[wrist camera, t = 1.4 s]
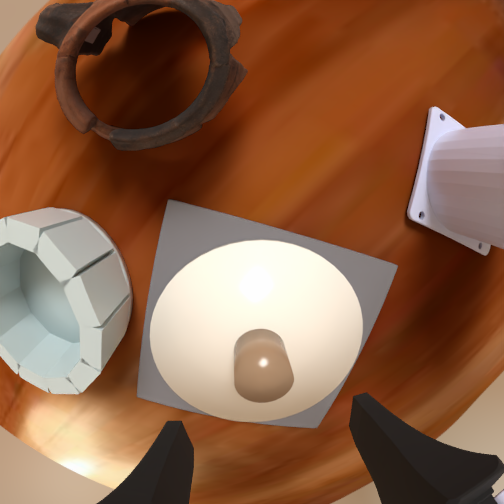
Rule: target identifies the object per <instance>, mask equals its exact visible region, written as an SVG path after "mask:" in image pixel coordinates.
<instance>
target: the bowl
mask: <svg viewBox="0 0 504 504" xmlns="http://www.w3.org/2000/svg"><path fill="white" fill-rule="evenodd" d="M132 307H133V291H132V284H131V278H130V275H129V272H128V268H127V266H126V263H125V261H124V258H123V256H122V254H121V252H120V250H119V249H118V247H117V245H116V244H115V242H114V241H113V239H112V238H111V237H110V236H109V235H108V233H107V232H106V231H105V230H104V229H103V228H102V227H101V226H100V225H99V224H98V223H97V222H95V221H94V220H92V219H91V218H90V217H88V216H86V215H84V214H82V213H80V212H78V211H75V210H71V209H66V208H53V207H51V208H44V209H39V210H35V211H30V212H25V213H21V214H17V215H12V216H8V217H4V218H2V219H1V220H0V356H1V357H2V359H3V360H4V361H5V362H6V363H7V364H8V365H9V366H10V368H11V369H12V370H13V371H14V372H15V373H16V374H18V373H19V375H20V377H21V378H23V379H24V380H26V381H28V382H30V383H31V384H33V385H35V386H37V387H39V388H41V389H42V390H44V391H46V392H48V393H49V392H50V391H51V393H52V394H80V392H83V391H84V390H85V389H86V388H87V387H88V386H89V385H90V384H91V383H92V382H93V381H94V380H95V379H96V378H97V376H98V375H99V374H100V373H101V371H102V370H103V368H104V367H105V365H106V363H107V362H108V360H109V359H110V357H111V355H112V354H113V352H114V351H115V349H116V347H117V346H118V344H119V343H120V341H121V340H122V338H123V337H124V335H125V332H126V331H127V326H128V324H129V321H130V318H131V313H132Z"/></svg>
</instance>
